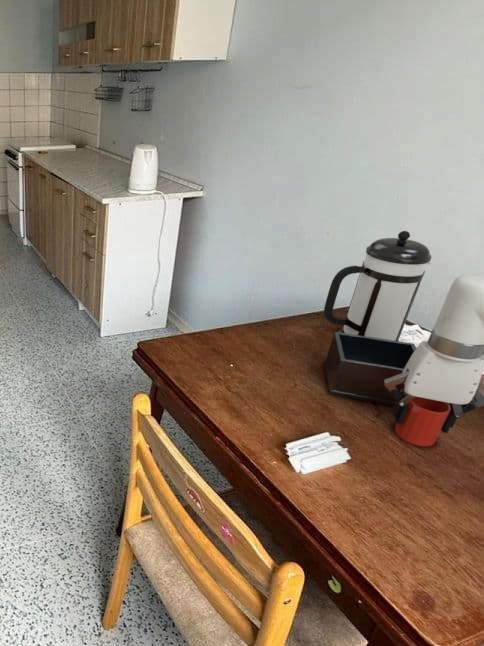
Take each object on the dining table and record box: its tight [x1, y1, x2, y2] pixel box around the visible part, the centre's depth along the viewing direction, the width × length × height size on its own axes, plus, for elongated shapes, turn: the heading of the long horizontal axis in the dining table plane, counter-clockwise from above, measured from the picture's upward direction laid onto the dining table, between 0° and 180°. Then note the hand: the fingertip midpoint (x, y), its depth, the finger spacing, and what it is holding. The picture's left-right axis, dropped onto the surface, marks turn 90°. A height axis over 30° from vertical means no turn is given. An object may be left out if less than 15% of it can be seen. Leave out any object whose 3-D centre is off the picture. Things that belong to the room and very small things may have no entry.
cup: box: [394, 397, 451, 447], centre depth 91 cm, size 6×6×8 cm
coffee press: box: [323, 230, 432, 341], centre depth 118 cm, size 17×16×30 cm
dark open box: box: [324, 331, 417, 407], centre depth 106 cm, size 16×14×9 cm
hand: (419, 423), depth 91 cm, fingers closed on cup, 6 cm apart
